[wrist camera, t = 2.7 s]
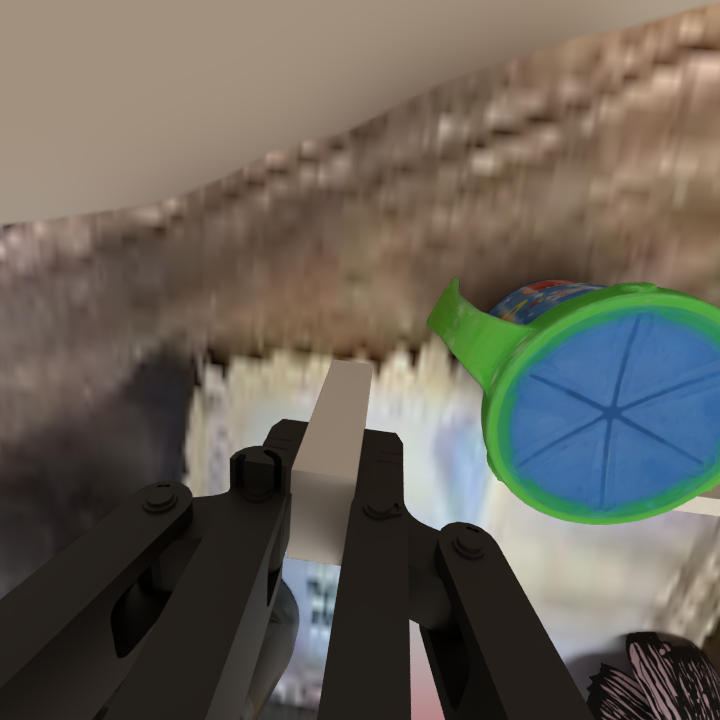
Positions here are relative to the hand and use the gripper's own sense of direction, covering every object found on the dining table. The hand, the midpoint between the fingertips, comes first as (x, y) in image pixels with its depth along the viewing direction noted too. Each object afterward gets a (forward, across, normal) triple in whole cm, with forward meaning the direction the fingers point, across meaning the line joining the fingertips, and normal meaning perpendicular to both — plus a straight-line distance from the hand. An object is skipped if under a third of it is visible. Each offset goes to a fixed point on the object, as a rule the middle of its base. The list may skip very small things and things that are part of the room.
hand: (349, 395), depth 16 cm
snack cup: (+12, -11, 0) cm, 16 cm away
